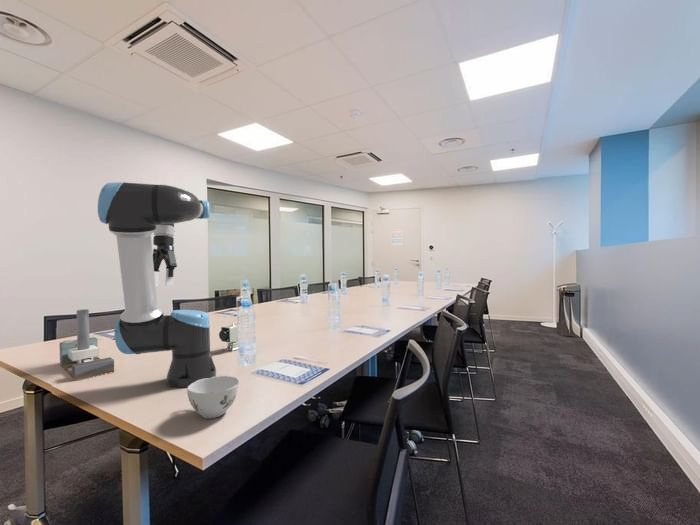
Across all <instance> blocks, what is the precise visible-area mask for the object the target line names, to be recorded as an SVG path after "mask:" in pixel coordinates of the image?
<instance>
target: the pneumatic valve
mask: <svg viewBox="0 0 700 525" xmlns="http://www.w3.org/2000/svg"><path fill="white" fill-rule="evenodd" d="M238 324H239V323H234V322H232V323H231V324H230V325H226V326H221V328H220V331H219V333H218V336H219V339H220V340H221V342H225V343H227V346H226V350H227V351H231V352H235V351H237V349H238V342H239V340H238ZM238 350H239V349H238Z"/></svg>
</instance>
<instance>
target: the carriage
mask: <svg viewBox="0 0 700 525" xmlns="http://www.w3.org/2000/svg"><path fill="white" fill-rule="evenodd" d="M89 313H90V310H89V308H88V309H86V308H85V309H77V310H76V338H77V339H76V340H77V347H78V348H73V349H68V357H69V358H70V359H71V360H72V361H76V362H77V363H78V364H79V363H81V359H86V358H89V359H90V360H92V361H93V357H96V356H98V357H100V347H96V346H95V345H91V346H90V345H89V338H90V314H89Z"/></svg>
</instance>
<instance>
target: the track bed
mask: <svg viewBox="0 0 700 525" xmlns="http://www.w3.org/2000/svg"><path fill="white" fill-rule="evenodd" d="M89 345H90V346H91V345H95V346H96V347H98V338H97V337H93V336H92V337H89ZM75 346H77V339H71V340H63V341H60V342H59V366H60V367H61V368H62V369H63V370H64V371H65V372H66V373H67V374H68V375H69V377H71V378H72V379H73V380H74V381H75V382H76V381H81V379H82V380H84V379H85V378H86V379H89V377H90V378H94V377H98V376H97V375H99V376H102V375H101V374H103V375H106V374H105V373H107V374H110V372H112V373H114V372H115V359H113V358H112V357H111V356H110V357H105V358H100V356H96V357H93V361H92V360H90V359H89V358H86V359H81V363H79V364H78V363H77V362H76V361H72V360H71V359H70V358H69V357H68V349H73V348H75ZM98 348H99V347H98ZM93 376H94V377H93Z"/></svg>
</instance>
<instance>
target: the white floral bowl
mask: <svg viewBox="0 0 700 525" xmlns="http://www.w3.org/2000/svg"><path fill="white" fill-rule="evenodd" d="M239 384H240V380H239V379H238V377H235V376H228V375H220V376H218V375H216V377H211V378H209V379H208V378H205V379H201V380H197V381H196V382H194V383H192V384H191V385H189V386H188V387H187V388H186V391H187V397H188V400H189V401H188V402H189V403H190V406H192V408H193V410H194V411H195V412H196V413H198V414H199V415H200V416H201V417H202V418H204V419H215V418H219V417H221V416H222V415H225V414H226V412H227V411H228V409H229V408H230V407H231V406H232V405H233V403H234V401H235V399H236V397H237V393H238V391H239V390H238V389H239Z"/></svg>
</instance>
